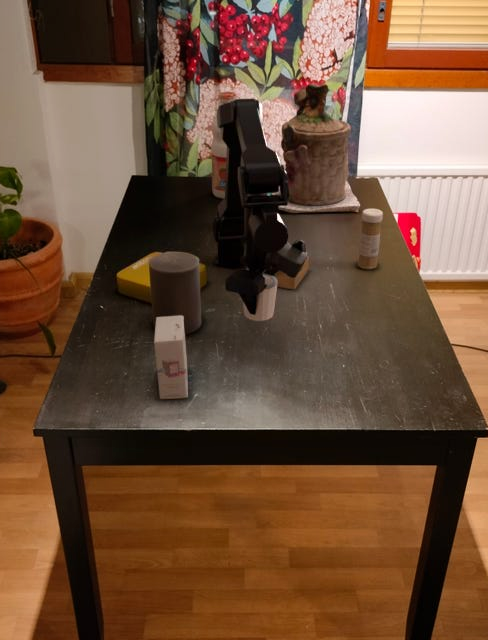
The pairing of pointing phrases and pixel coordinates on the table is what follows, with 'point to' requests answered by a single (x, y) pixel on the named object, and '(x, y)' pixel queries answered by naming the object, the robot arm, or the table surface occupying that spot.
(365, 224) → the sprinkles bottle
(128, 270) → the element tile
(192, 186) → the table surface
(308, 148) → the cookie jar
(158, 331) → the ink box
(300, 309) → the table surface
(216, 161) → the fruit juice
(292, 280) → the maple block
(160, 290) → the pillar candle
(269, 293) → the shot glass
